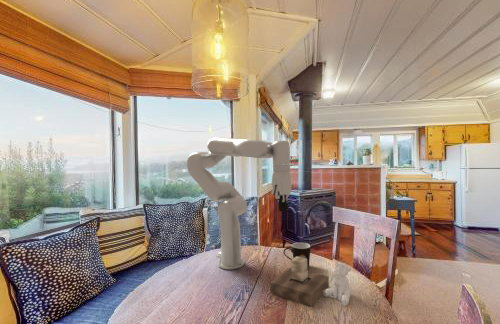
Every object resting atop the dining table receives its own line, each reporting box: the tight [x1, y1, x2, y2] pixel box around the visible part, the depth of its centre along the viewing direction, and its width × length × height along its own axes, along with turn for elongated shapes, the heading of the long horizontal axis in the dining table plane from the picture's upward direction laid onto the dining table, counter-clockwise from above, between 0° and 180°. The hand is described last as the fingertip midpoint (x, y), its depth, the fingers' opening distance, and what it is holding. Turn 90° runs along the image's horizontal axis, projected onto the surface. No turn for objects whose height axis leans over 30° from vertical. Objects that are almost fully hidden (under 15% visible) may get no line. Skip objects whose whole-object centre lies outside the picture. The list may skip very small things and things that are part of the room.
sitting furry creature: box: [322, 261, 352, 307], centre depth 87 cm, size 10×9×12 cm
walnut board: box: [270, 267, 330, 308], centre depth 93 cm, size 16×16×4 cm
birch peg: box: [290, 256, 309, 285], centre depth 93 cm, size 4×4×12 cm
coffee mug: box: [283, 242, 311, 270], centre depth 114 cm, size 12×9×10 cm
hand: (283, 210), depth 108 cm, fingers closed
